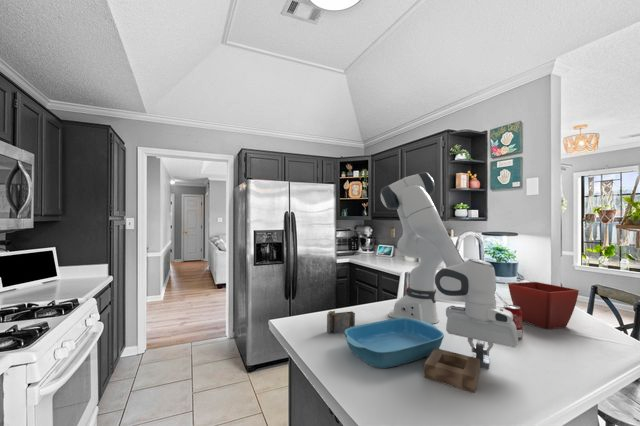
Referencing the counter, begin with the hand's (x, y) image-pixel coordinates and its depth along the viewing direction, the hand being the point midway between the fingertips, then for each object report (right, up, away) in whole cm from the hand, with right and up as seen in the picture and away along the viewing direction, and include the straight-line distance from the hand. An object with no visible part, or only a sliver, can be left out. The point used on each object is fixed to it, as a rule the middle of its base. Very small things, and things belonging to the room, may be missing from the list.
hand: (480, 353), depth 93 cm
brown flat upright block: (-43, -4, +26) cm, 50 cm away
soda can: (+25, -4, +23) cm, 34 cm away
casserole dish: (-26, -4, +8) cm, 27 cm away
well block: (-12, -3, -7) cm, 15 cm away
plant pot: (+50, -5, +39) cm, 63 cm away
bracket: (0, -3, 0) cm, 3 cm away
